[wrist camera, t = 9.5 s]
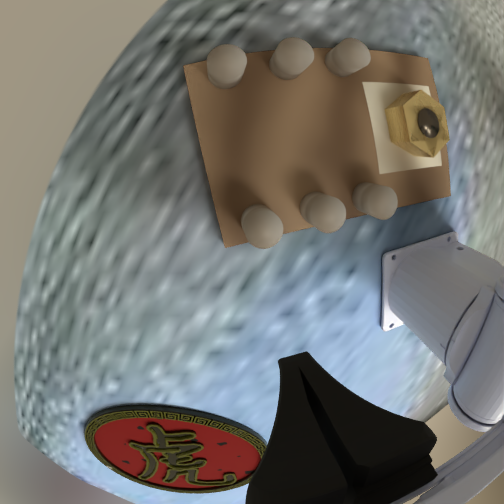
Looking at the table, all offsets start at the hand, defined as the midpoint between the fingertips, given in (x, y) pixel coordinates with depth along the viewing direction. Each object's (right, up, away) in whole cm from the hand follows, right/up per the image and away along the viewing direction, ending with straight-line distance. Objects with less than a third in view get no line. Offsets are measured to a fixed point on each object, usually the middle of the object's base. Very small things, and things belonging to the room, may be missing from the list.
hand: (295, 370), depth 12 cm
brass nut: (+10, +15, +5) cm, 19 cm away
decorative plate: (-12, -22, +16) cm, 30 cm away
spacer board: (+4, +14, +6) cm, 16 cm away
